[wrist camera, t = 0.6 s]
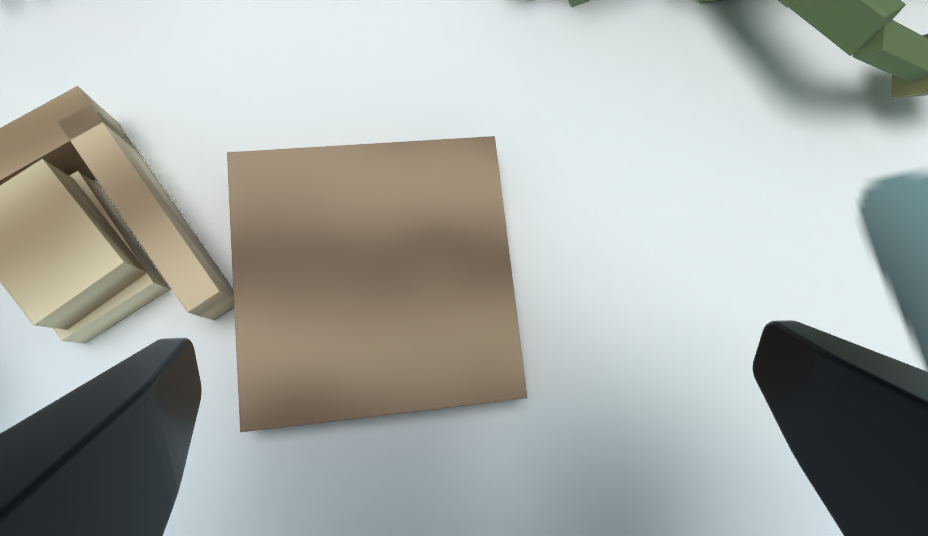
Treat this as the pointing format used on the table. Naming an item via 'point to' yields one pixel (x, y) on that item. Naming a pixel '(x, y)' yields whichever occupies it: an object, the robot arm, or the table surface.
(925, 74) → the toy
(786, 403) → the robot arm
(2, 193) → the offcut top
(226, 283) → the frame
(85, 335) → the offcut low
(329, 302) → the base block
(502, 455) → the table surface
